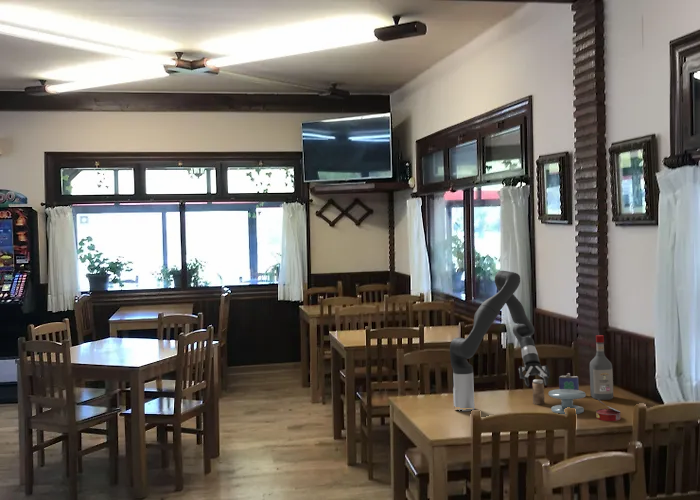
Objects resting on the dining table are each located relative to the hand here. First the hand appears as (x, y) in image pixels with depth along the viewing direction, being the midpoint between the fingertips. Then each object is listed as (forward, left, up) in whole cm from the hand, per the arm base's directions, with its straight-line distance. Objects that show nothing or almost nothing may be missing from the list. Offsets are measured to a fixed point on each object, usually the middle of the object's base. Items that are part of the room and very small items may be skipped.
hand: (537, 385), depth 332 cm
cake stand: (+9, -16, -8) cm, 21 cm away
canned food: (+22, -31, -9) cm, 39 cm away
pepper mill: (0, -1, -8) cm, 9 cm away
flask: (+19, +14, -9) cm, 25 cm away
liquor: (+32, +5, -9) cm, 33 cm away
